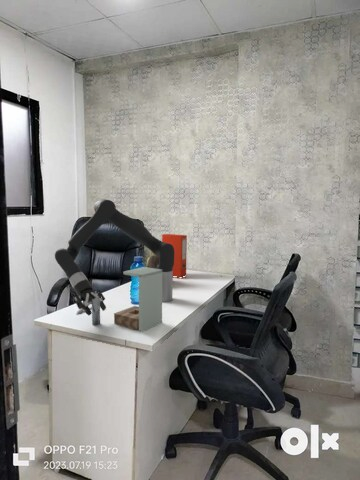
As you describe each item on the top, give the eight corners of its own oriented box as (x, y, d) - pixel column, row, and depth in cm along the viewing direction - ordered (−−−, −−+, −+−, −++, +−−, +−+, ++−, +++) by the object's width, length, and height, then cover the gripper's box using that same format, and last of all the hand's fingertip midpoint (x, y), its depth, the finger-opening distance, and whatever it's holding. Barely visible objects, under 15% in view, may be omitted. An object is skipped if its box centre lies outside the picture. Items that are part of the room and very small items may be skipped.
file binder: (167, 274, 268) (168, 233, 265) (186, 276, 259) (186, 235, 255) (161, 275, 261) (161, 234, 258) (180, 278, 252) (180, 235, 249)
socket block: (114, 323, 157) (114, 313, 156) (134, 315, 168) (134, 305, 168) (137, 330, 149) (137, 319, 148) (156, 321, 160) (157, 311, 160)
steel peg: (93, 322, 158) (92, 297, 157) (101, 322, 158) (100, 297, 157) (91, 325, 154) (90, 299, 153) (99, 325, 154) (98, 299, 153)
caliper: (96, 303, 189) (95, 292, 188) (97, 303, 189) (97, 292, 188) (75, 315, 169) (75, 302, 169) (77, 315, 169) (77, 303, 168)
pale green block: (123, 326, 153) (123, 271, 151) (144, 318, 165) (143, 266, 162) (142, 331, 147) (142, 274, 144) (162, 322, 159) (162, 269, 156)
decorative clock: (154, 278, 252) (154, 238, 248) (170, 280, 247) (170, 239, 244) (136, 287, 225) (136, 242, 222) (153, 289, 221) (153, 243, 218)
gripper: (71, 281, 153) (89, 311, 147) (95, 276, 164) (113, 303, 159) (64, 291, 156) (81, 320, 151) (88, 285, 168) (105, 312, 163)
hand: (97, 312), depth 155 cm, fingers open, 8 cm apart
